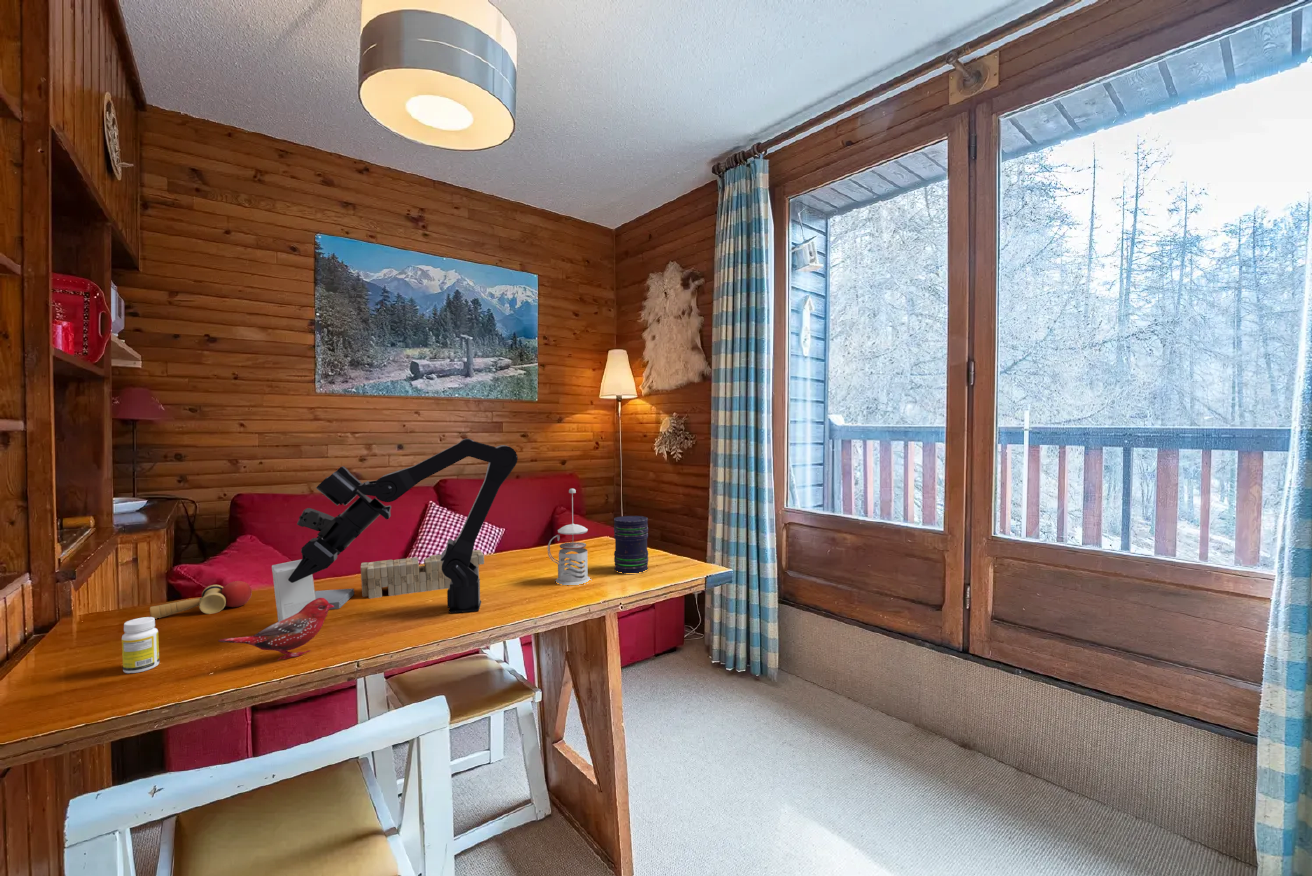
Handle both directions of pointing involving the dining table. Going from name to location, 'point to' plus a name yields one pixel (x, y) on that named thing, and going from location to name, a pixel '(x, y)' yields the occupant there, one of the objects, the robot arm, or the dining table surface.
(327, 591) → the flat grey square mat
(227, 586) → the kendama
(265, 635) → the decorative bird figurine
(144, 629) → the supplement bottle
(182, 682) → the dining table surface
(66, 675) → the dining table surface
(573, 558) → the french press
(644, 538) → the storage jar
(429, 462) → the robot arm
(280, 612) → the small box
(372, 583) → the block tower
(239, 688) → the dining table surface
